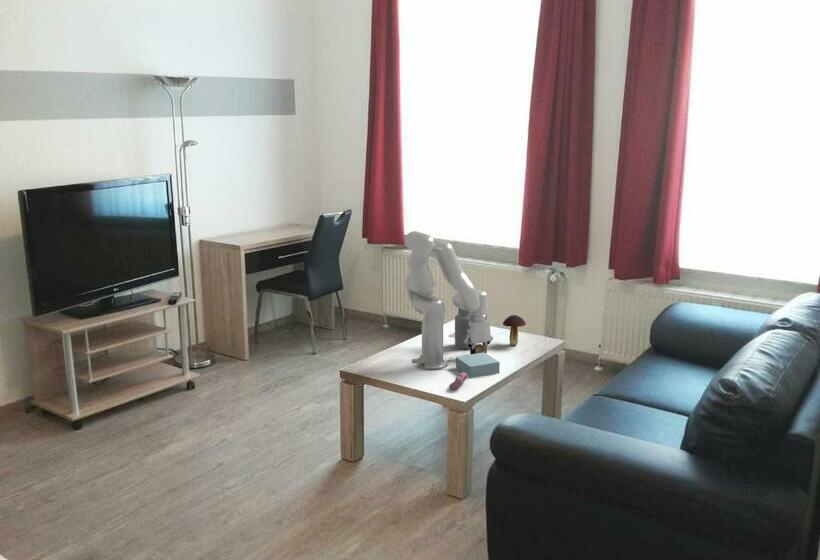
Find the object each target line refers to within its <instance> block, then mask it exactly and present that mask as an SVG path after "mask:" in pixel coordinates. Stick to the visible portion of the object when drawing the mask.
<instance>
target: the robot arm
mask: <svg viewBox="0 0 820 560" xmlns="http://www.w3.org/2000/svg"><path fill="white" fill-rule="evenodd" d="M404 243H405V246H406V247H407V249H408V250H410V251H411V253H410V256H409V258H408V263H407V264H408V270H409V273H408V274H407V276H406V277H405V280H404V281H405V282H404V283H405V284H404V285H405V288H406V292H407V295H408V298H409V300H410V303H411V306H412V307H413V309H414V311H416V312H417V313H419V314H421V315H423V319H422V323H421V354H420V355H419V357H418V358H411V364H417V365H418V367H419V368H422V369H424V370H428V369H429V370H431V371H436V370H441V369H444V368H446V367H447V366H448V362H447V361H446V360H445V359H444V320H445V314H446V306H445V303H444V301H443V300H442V299H440V297H437V296H436V295H433V294H434V292H435V290H436V283H435V280H434V277H433V275H432V271H431V269H430V265H429V258H433V259H436V261H437V264H438V265H439V268H440V270H441V272H442V275H443V278H444V279H445V280H446V282H447V283H448V284H449V285H450V286H452V287H453V288H454V289H455V290H456V291H457V292H455V294H454V295H453V297H452V299H451V300H452V304H453V305H454V306H455V307H456V308H457V309H458V308H460V309H462V310H465V311H467V312H470V316H469V317H468V319H470V321H469V324H468V332H467V338H466V339H465V341H464V343H465V344H466V345H467V346H469V347H470V349H469V352H470V353H469V355H471V354H475V349H474V347H475V345H476V344H482V345H484V346H485V347H486V354H487V352H488V349H487V348H488V347H489V345H490V343H491V342H492V341H493V340H494V337H493V336H492V335H491V326H490V321H489V319H488V294H487V292H486V291H484V290H480V289H478V290H476V289H475V286H474V285H473V282H471V280H470V279H469V278H468V275H466V273H465V272H464V270H463V269H462V265H461V264H460V261H459V259H458V257H457V254H456V252H455V249H454V247H453V245H452V244H451V243H449V242H448V241H445V240H441V239H437V238H435V237H432V236H431V235H430V234H426V233H424V232H420V231H415V230H413V231H410V232H408V233H407V234H406V235H405V238H404ZM468 341H470V344H469V343H468ZM429 370H428V371H429Z"/></svg>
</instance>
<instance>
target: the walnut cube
mask: <svg viewBox="0 0 820 560" xmlns="http://www.w3.org/2000/svg"><path fill="white" fill-rule="evenodd" d="M474 349H475V354H477V353H483V352H484V353H486V347H485V346H484V345H483V344H482V343H477V344H475V347H474ZM486 354H487V353H486Z"/></svg>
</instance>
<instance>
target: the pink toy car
mask: <svg viewBox="0 0 820 560" xmlns="http://www.w3.org/2000/svg"><path fill="white" fill-rule="evenodd" d="M467 378H468V374H467V373H464V372H460V373H458V375H457V377H456V378H455V379H454V381H453V382H451V383H450V384H449V386H448V389H449V390H451V389H452V390H456V389H460V388H461V386H464V384H465V381H466V380H467Z"/></svg>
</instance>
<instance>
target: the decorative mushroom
mask: <svg viewBox="0 0 820 560" xmlns="http://www.w3.org/2000/svg"><path fill="white" fill-rule="evenodd" d="M502 325H503V327H510V330H509V331H510V332H509V344H510V345H511V346H513V345H514V346H517V345H518V343H519V331H518V328H519V327H520V328H521V327H524V326H526V325H527V322H526V321H525V320H524V319H523V318H522V317H521V316H519V315H515V314H511V315H509V316H508V317H507V318H505V319H504V320H503V321H502Z"/></svg>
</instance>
